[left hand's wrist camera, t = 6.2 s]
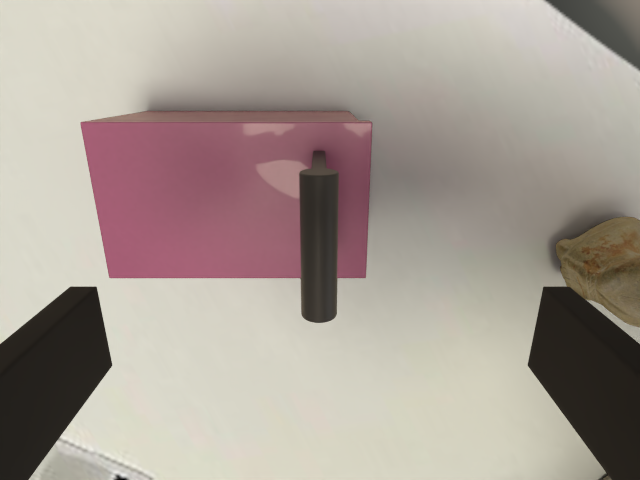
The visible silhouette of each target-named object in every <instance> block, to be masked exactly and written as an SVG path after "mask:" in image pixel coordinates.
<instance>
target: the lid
mask: <svg viewBox="0 0 640 480" xmlns="http://www.w3.org/2000/svg"><path fill="white" fill-rule="evenodd" d="M81 129H82V134H83V139H84V145H85V150H86V155H87V161H88V166H89V171H90V177H91V182H92V187H93V193H94V198H95V203H96V209H97V214H98V219H99V225H100V230H101V235H102V241H103V246H104V252H105V257H106V262H107V268H108V273H109V278H301V312H302V316H303V318H304V319H306V320H308V321H310V322H315V323H323V322H328V321H331V320H332V319H334V318H335V316H336V314H337V278H366V262H367V238H368V213H369V189H370V165H371V140H372V122H371V121H85V122H81Z"/></svg>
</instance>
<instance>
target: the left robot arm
mask: <svg viewBox="0 0 640 480" xmlns="http://www.w3.org/2000/svg"><path fill="white" fill-rule="evenodd" d="M111 366H112V362H111V357H110V352H109V347H108V342H107V337H106V332H105V327H104V322H103V317H102V312H101V307H100V302H99V297H98V292H97V287H70V288H68V289H67V290H66V291H65V292H63V293H62V294H61V295H60V296H59V297H57V298H56V299H55V300H54V301H52V302H51V303H50V304H49V305H48V306H46V307H45V308H44V309H43V310H41V311H40V312H39V313H38V314H37V315H35V316H34V317H33V318H32V319H30V320H29V321H28V322H27V323H26V324H24V325H23V326H22V327H21V328H19V329H18V330H17V331H16V332H15V333H13V334H12V335H11V336H10V337H8V338H7V339H6V340H5V341H4V342H2V343H1V344H0V480H28V479H29V478H30V477H31V475H32V474H33V473H34V471H35V470H36V469H37V467H38V466H39V464H40V463H41V462H42V460H43V459H44V458H45V456H46V455H47V454H48V452H49V451H50V449H51V448H52V447H53V445H54V444H55V443H56V441H57V440H58V439H59V437H60V436H61V434H62V433H63V432H64V430H65V429H66V428H67V426H68V425H69V424H70V422H71V421H72V420H73V418H74V417H75V415H76V414H77V413H78V411H79V410H80V409H81V407H82V406H83V405H84V403H85V402H86V400H87V399H88V398H89V396H90V395H91V394H92V392H93V391H94V390H95V388H96V387H97V385H98V384H99V383H100V381H101V380H102V379H103V377H104V376H105V375H106V373H107V372H108V371H109V369H110V368H111ZM528 366H529V368H530V369H531V371H532V372H533V373H534V375H535V376H536V377H537V379H538V380H539V381H540V383H541V384H542V385H543V387H544V388H545V390H546V391H547V392H548V394H549V395H550V396H551V398H552V399H553V400H554V402H555V403H556V405H557V406H558V407H559V409H560V410H561V411H562V413H563V414H564V415H565V417H566V418H567V420H568V421H569V422H570V424H571V425H572V426H573V428H574V429H575V430H576V432H577V433H578V434H579V436H580V437H581V439H582V440H583V441H584V443H585V444H586V445H587V447H588V448H589V449H590V451H591V452H592V454H593V455H594V456H595V458H596V459H597V460H598V462H599V463H600V464H601V466H602V467H603V469H604V470H605V471H606V473H607V474H608V476H606V477H605V478H604V479H602V480H640V344H639V343H638V342H636V341H635V340H634V339H633V338H632V337H630V336H629V335H628V334H627V333H625V332H624V331H623V330H622V329H621V328H619V327H618V326H617V325H616V324H614V323H613V322H612V321H611V320H610V319H608V318H607V317H606V316H605V315H603V314H602V313H601V312H600V311H599V310H597V309H596V308H595V307H594V306H592V305H591V304H590V303H589V302H588V301H586V300H585V299H584V298H583V297H581V296H580V295H579V294H578V293H577V292H575V291H574V290H573V289H572V288H570V287H543V292H542V297H541V302H540V307H539V312H538V317H537V322H536V327H535V332H534V337H533V342H532V347H531V352H530V357H529V362H528Z"/></svg>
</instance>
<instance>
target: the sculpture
mask: <svg viewBox="0 0 640 480" xmlns="http://www.w3.org/2000/svg"><path fill="white" fill-rule="evenodd" d="M556 253H557V257H558V258H559V259H560V261H561V267H560V270H561V273H562V276H563V278H564V279H565V282H566V285H567V287H570V288H572V289H573V290H574V291H575V292H577V293H578V294H579V295H580V296H581V297H583V298H584V299H586V300H592V301H595V302H597V303H599V304H601V305H603V306H604V307H605V308H606V309H607V310H609V311H610V312H611V313H613V314H614V315H615V316H617V317H618V318H620V319H621V320H622V321H624V322H625V323H627V324H629V325H633V326H636V327H640V221H639V220H638V219H636V218H633V217H618V218H614V219H611V220H608V221H605V222H603V223H601V224H599V225H597V226H595V227H593V228H591V229H590V230H588V231H587V232H585V233H584V234H582V235H580V236H579V237H577V238H574V239H571V240H569V239H562V240H560V241H559V242H558V243H557V244H556Z"/></svg>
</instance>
